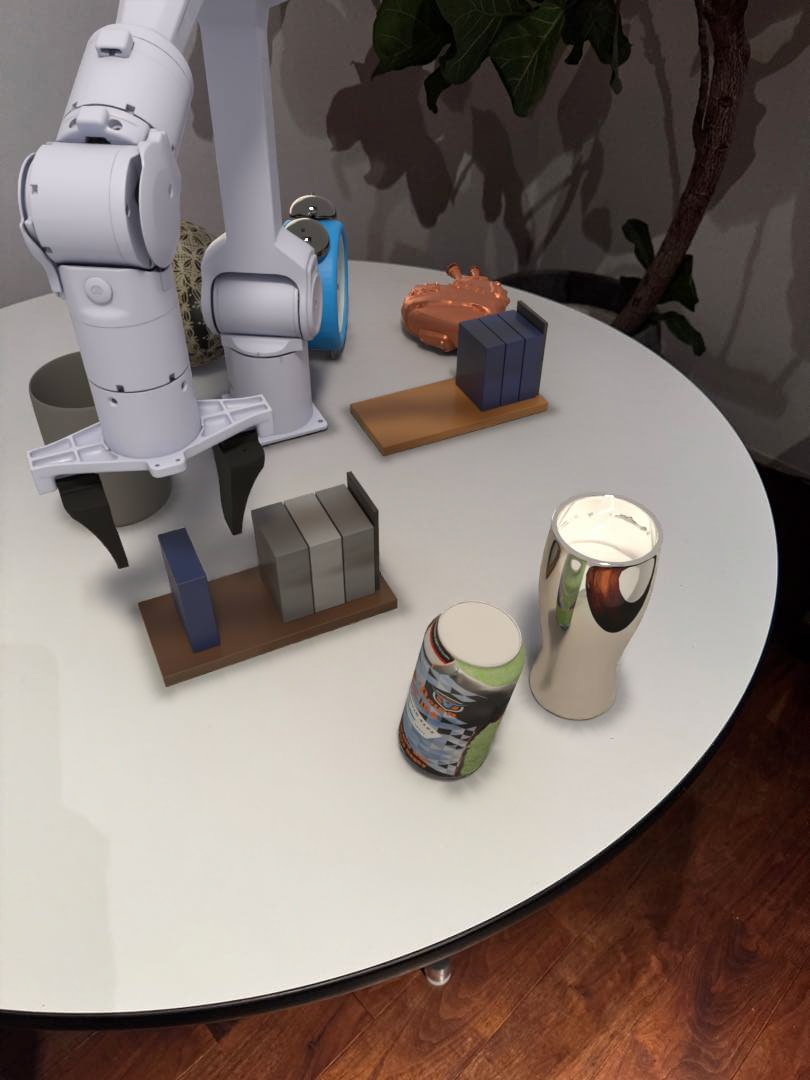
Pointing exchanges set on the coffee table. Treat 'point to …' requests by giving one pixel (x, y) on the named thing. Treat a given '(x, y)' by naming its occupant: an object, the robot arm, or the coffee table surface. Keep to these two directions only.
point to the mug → (71, 409)
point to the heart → (451, 306)
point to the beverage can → (461, 688)
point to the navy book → (189, 589)
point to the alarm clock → (325, 265)
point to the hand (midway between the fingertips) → (178, 542)
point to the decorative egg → (194, 294)
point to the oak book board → (430, 415)
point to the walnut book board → (241, 625)
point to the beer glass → (592, 599)
